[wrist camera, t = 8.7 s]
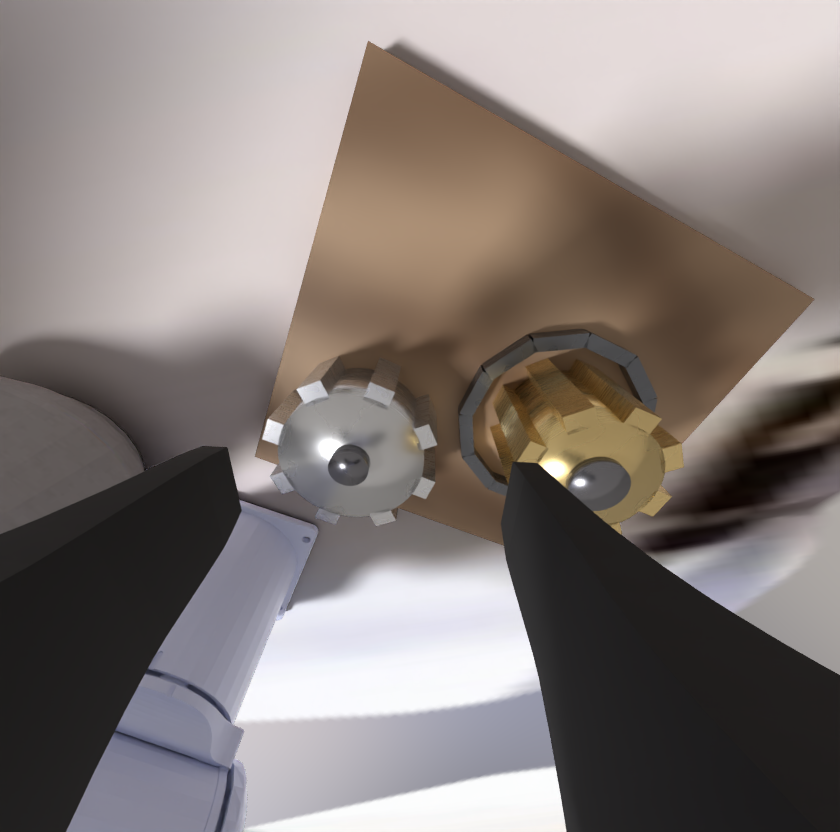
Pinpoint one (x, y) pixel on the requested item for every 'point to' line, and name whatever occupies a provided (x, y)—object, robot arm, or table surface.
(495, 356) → the ring
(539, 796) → the table surface
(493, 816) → the table surface
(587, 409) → the planet gear
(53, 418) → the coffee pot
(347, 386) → the sun gear
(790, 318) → the carrier plate
